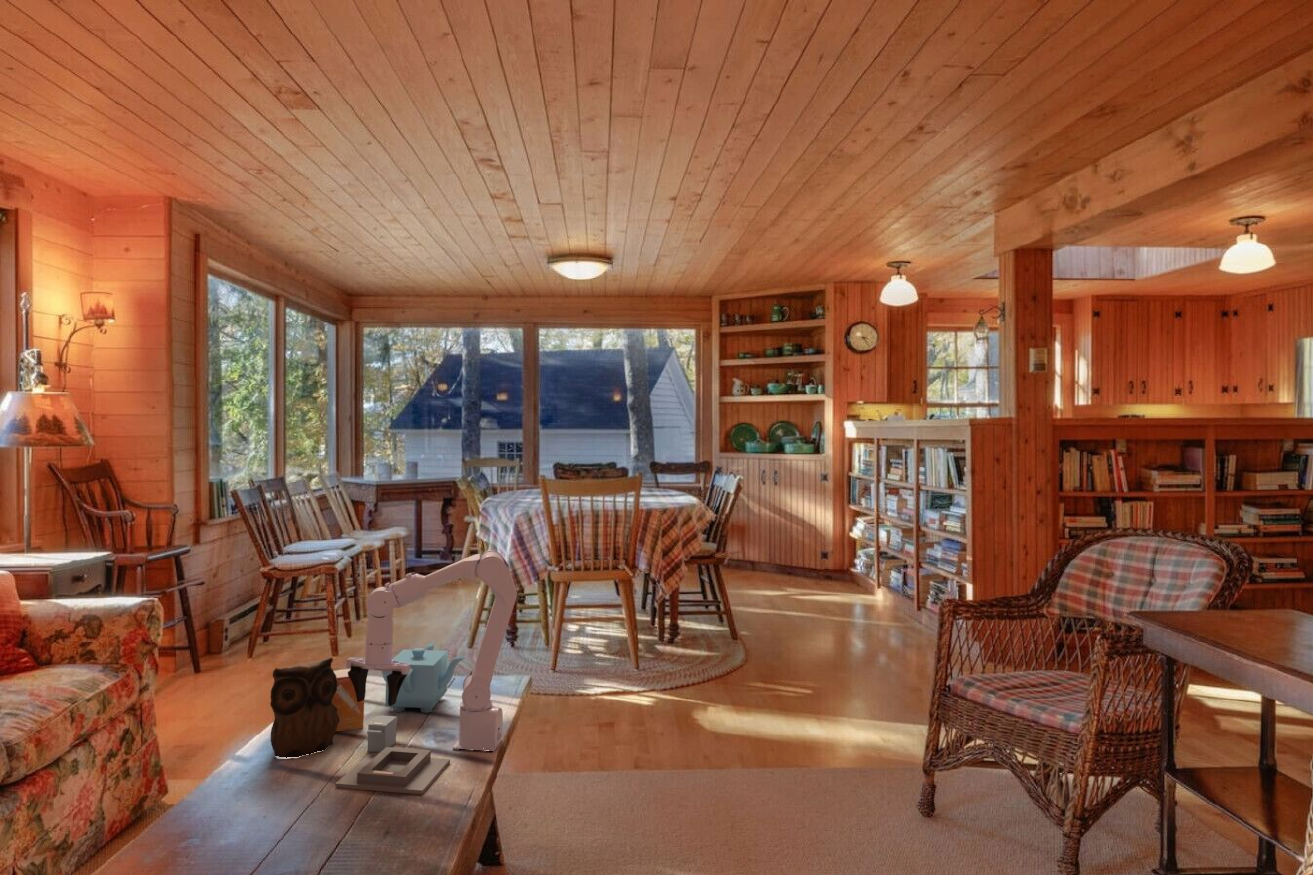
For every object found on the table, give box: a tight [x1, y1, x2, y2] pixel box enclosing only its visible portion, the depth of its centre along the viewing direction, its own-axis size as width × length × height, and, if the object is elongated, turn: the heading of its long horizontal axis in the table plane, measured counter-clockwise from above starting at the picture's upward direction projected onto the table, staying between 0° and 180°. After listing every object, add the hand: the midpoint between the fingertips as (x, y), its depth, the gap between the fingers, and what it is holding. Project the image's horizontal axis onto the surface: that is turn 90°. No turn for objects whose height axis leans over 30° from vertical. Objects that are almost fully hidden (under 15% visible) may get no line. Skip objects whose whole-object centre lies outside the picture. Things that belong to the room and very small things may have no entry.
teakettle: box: [381, 642, 467, 714], centre depth 220 cm, size 19×19×15 cm
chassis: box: [335, 746, 451, 795], centre depth 177 cm, size 18×16×3 cm
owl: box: [269, 657, 340, 758], centre depth 187 cm, size 13×13×20 cm
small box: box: [332, 668, 365, 733], centre depth 203 cm, size 8×6×13 cm
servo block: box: [366, 714, 398, 753], centre depth 192 cm, size 4×9×6 cm, turn 174°
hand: (376, 702), depth 190 cm, fingers open, 7 cm apart
